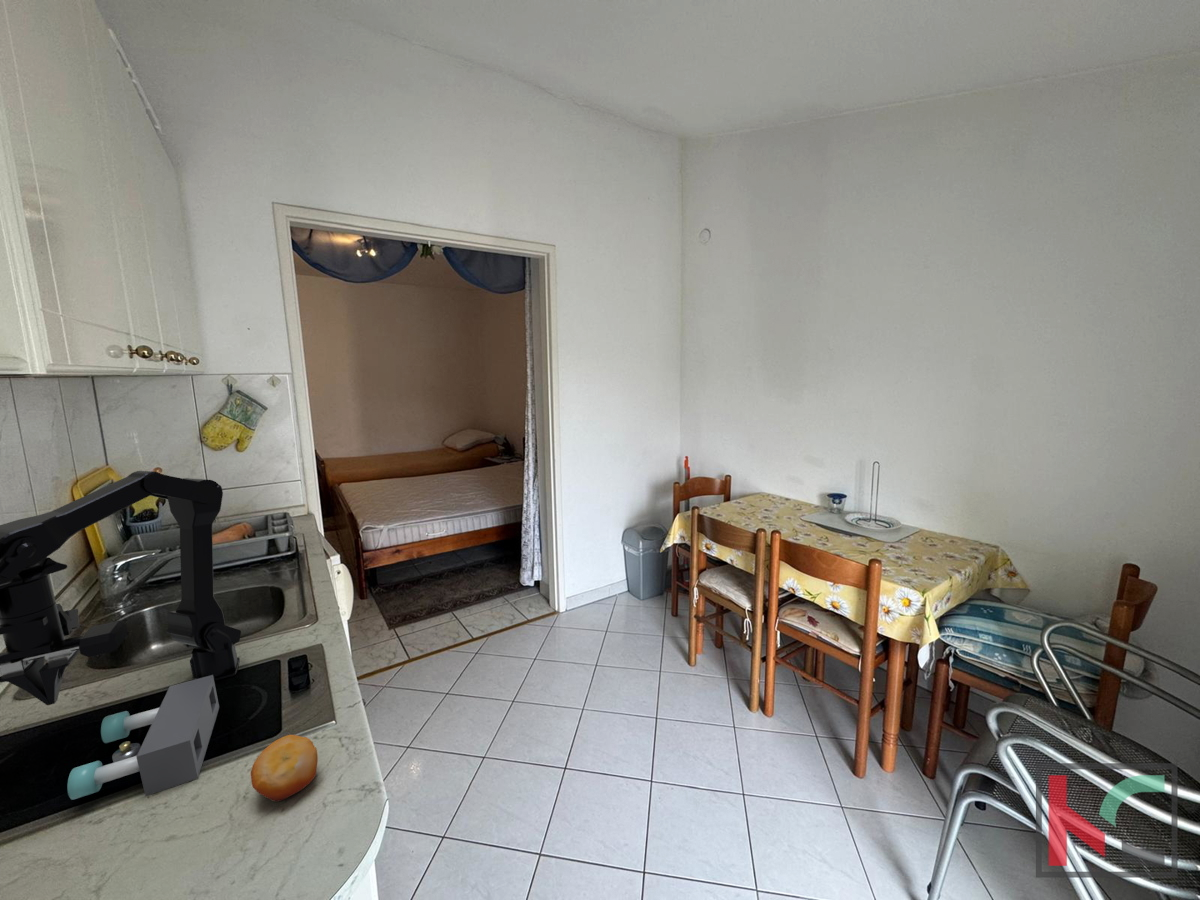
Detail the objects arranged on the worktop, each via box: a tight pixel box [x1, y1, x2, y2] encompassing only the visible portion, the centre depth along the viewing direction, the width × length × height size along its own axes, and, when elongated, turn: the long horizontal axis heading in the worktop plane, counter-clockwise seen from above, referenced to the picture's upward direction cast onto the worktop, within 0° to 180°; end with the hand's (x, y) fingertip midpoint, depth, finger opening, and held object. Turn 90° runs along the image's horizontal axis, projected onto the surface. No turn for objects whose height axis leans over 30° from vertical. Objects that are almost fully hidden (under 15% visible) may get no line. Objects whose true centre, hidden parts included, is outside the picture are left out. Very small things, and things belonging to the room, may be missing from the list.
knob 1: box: [100, 707, 160, 744], centre depth 82 cm, size 9×4×4 cm, turn 119°
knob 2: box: [66, 756, 140, 801], centre depth 72 cm, size 9×4×4 cm, turn 119°
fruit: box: [250, 734, 319, 802], centre depth 72 cm, size 8×8×8 cm
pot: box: [111, 740, 142, 763], centre depth 77 cm, size 3×3×4 cm
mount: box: [136, 675, 220, 797], centre depth 80 cm, size 6×18×6 cm, turn 29°
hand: (52, 702), depth 77 cm, fingers closed
